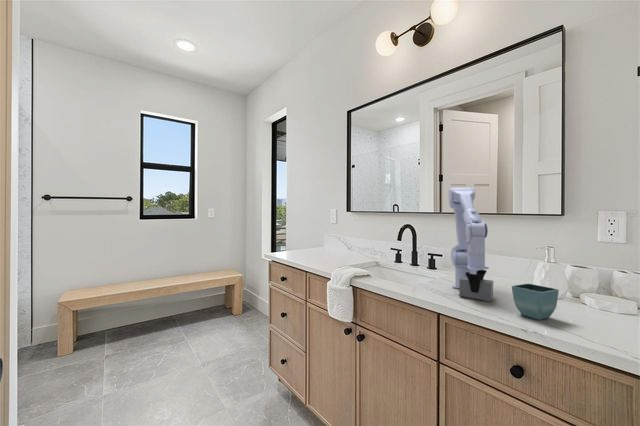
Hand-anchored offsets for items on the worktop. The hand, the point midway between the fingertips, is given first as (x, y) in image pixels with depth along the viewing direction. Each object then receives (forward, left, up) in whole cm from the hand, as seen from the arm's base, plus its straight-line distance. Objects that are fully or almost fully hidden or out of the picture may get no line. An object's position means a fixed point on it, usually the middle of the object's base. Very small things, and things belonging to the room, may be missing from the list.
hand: (476, 290), depth 106 cm
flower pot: (+12, +18, -3) cm, 21 cm away
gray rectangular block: (0, 0, -2) cm, 2 cm away
